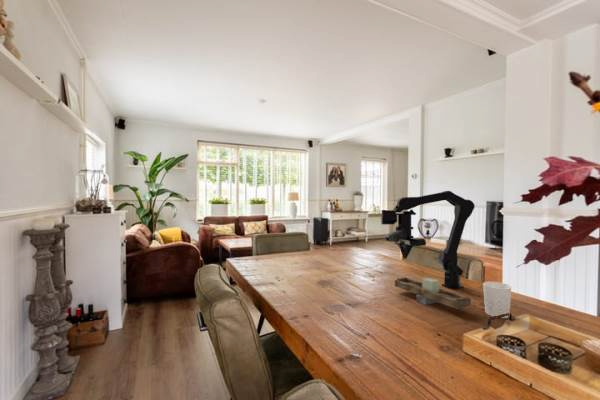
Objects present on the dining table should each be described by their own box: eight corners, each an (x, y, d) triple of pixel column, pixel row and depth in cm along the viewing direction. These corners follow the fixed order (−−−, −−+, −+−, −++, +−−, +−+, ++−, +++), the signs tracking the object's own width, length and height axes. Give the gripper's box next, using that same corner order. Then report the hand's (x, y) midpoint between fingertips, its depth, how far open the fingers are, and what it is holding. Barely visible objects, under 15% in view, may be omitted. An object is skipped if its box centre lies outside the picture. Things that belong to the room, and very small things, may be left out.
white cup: (516, 320, 91) (516, 289, 91) (489, 318, 92) (489, 288, 92) (504, 310, 98) (503, 282, 98) (479, 308, 100) (479, 281, 100)
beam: (393, 292, 118) (393, 279, 118) (408, 289, 122) (408, 276, 122) (455, 317, 93) (455, 300, 93) (472, 312, 97) (472, 296, 97)
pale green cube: (422, 290, 108) (422, 278, 108) (429, 288, 110) (429, 277, 110) (432, 293, 104) (432, 281, 104) (439, 292, 106) (439, 280, 106)
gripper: (377, 223, 133) (377, 256, 133) (408, 227, 116) (408, 265, 116) (394, 222, 138) (394, 254, 138) (426, 225, 121) (427, 261, 121)
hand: (405, 258), depth 128 cm, fingers closed
